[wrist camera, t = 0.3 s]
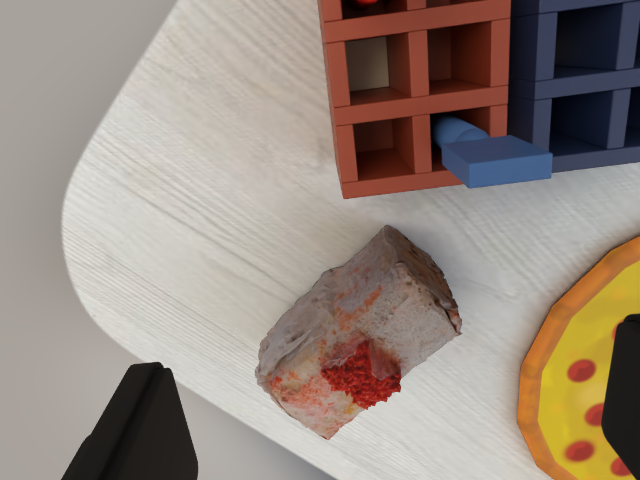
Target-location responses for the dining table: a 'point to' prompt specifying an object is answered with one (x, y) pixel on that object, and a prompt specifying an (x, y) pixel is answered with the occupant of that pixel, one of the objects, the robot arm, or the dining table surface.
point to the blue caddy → (576, 80)
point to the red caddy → (410, 85)
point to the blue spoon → (486, 154)
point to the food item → (357, 334)
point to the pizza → (578, 371)
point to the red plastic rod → (360, 4)
